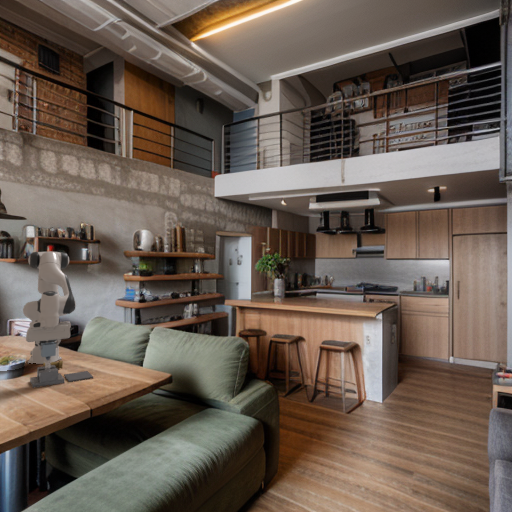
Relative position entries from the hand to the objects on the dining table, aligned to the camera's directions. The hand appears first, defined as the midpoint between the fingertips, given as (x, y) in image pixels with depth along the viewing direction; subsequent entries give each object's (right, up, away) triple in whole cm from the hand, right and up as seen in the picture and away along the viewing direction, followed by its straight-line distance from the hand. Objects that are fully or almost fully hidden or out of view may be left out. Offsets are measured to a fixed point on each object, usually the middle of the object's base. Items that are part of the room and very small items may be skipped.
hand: (48, 348), depth 186 cm
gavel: (-7, -19, +17) cm, 26 cm away
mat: (+12, -18, +8) cm, 23 cm away
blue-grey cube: (0, -4, 0) cm, 4 cm away
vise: (0, -18, -1) cm, 18 cm away
